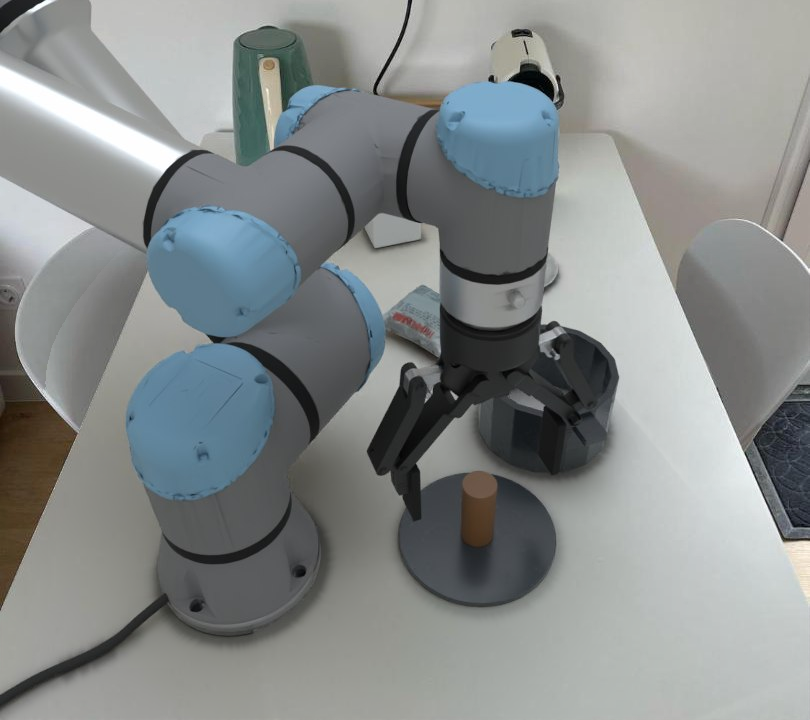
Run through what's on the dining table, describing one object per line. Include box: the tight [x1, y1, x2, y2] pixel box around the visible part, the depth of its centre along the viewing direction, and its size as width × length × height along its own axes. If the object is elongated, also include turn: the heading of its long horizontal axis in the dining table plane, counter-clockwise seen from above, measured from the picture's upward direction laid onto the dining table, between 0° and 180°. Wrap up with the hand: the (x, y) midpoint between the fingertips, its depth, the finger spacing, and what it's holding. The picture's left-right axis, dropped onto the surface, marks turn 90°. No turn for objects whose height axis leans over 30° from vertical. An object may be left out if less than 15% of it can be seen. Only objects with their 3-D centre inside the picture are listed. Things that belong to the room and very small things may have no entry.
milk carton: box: [363, 213, 422, 249], centre depth 113 cm, size 7×7×19 cm
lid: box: [398, 470, 557, 607], centre depth 76 cm, size 15×15×9 cm
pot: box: [477, 323, 620, 473], centre depth 87 cm, size 14×19×9 cm
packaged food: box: [382, 284, 441, 358], centre depth 100 cm, size 9×12×5 cm
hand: (481, 486), depth 73 cm, fingers open, 13 cm apart
